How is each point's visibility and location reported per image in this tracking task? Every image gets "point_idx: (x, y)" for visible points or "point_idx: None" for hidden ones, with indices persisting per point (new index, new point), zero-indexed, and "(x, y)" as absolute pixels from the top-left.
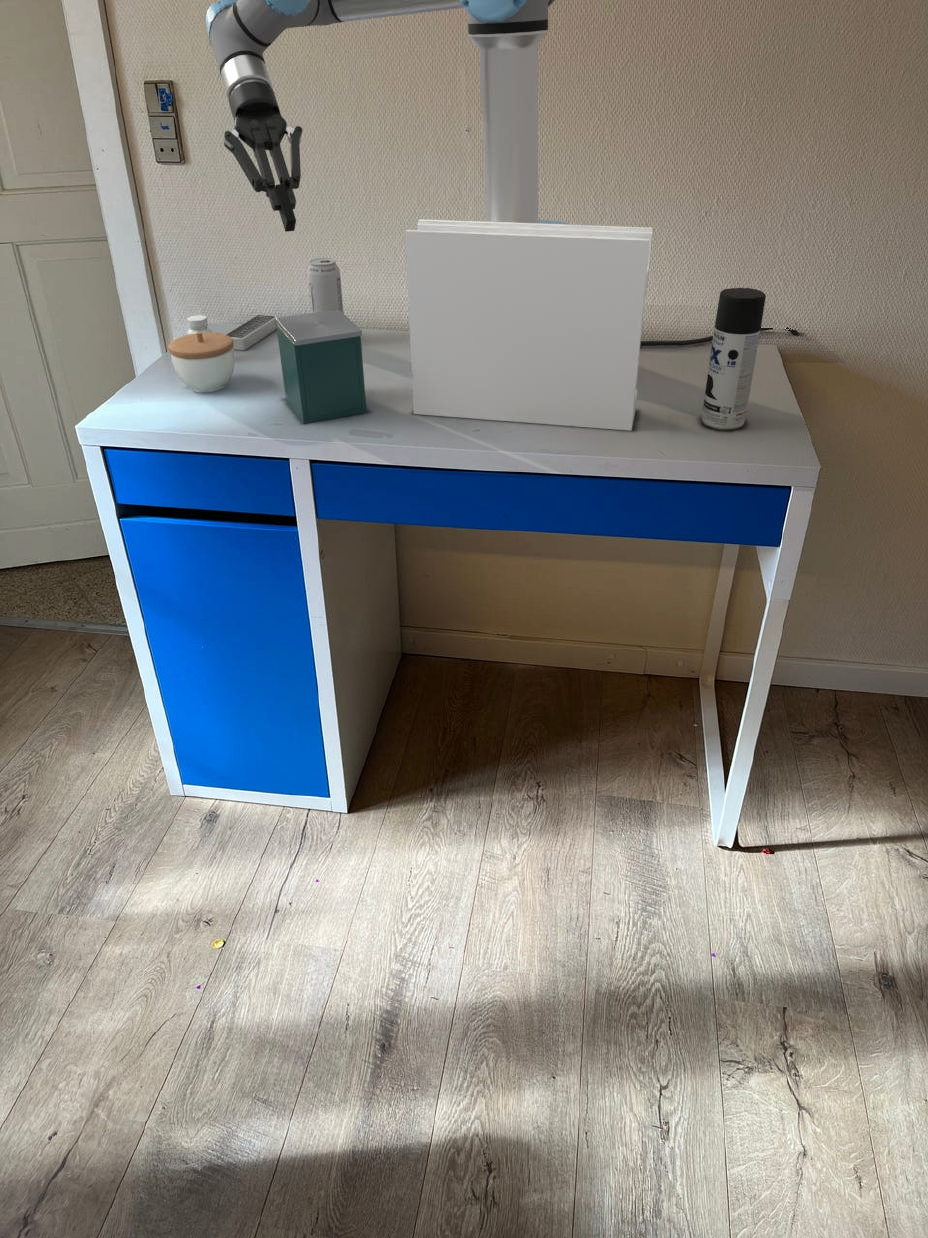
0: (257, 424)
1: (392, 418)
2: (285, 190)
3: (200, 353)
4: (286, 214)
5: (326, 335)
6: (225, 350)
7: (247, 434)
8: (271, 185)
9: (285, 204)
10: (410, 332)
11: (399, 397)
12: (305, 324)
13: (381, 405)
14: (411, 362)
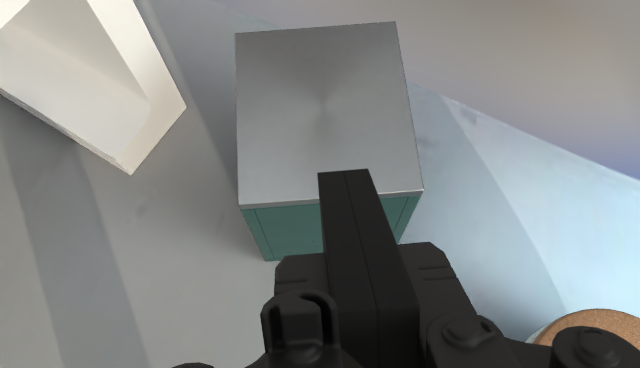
0: (458, 153)
1: (227, 102)
2: (342, 270)
3: (607, 309)
4: (364, 185)
5: (320, 28)
6: (542, 331)
7: (477, 119)
8: (458, 313)
9: (361, 213)
10: (135, 6)
11: (180, 185)
12: (353, 112)
13: (225, 161)
14: (157, 50)
